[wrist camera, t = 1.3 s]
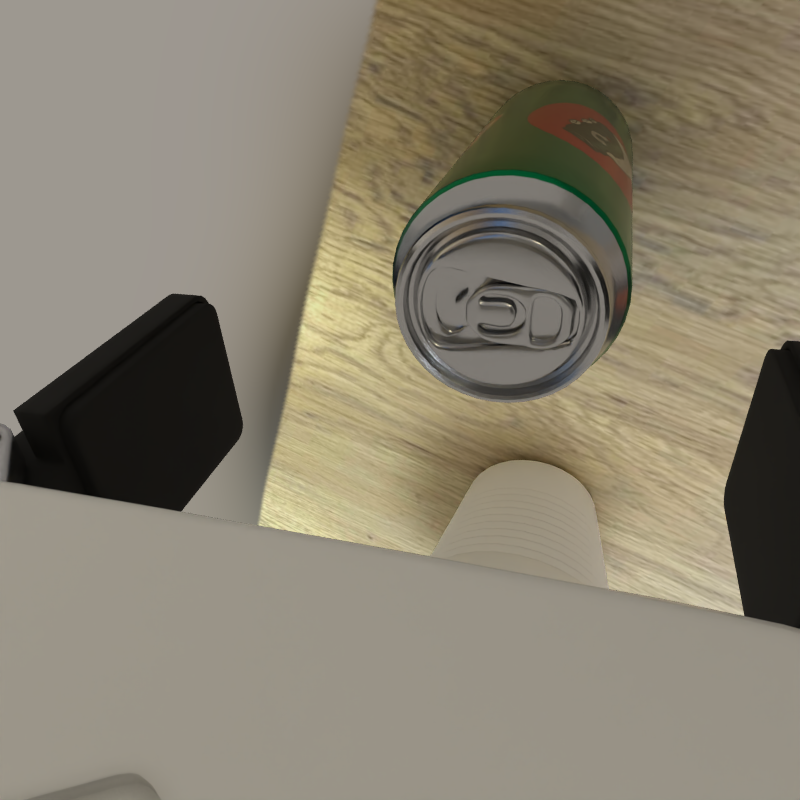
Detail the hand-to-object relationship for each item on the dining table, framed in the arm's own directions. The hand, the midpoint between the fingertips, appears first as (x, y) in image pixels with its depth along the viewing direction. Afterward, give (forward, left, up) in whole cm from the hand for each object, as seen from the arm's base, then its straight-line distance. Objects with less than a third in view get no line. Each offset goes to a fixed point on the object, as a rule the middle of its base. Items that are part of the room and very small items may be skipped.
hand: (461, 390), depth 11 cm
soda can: (0, 0, -15) cm, 15 cm away
